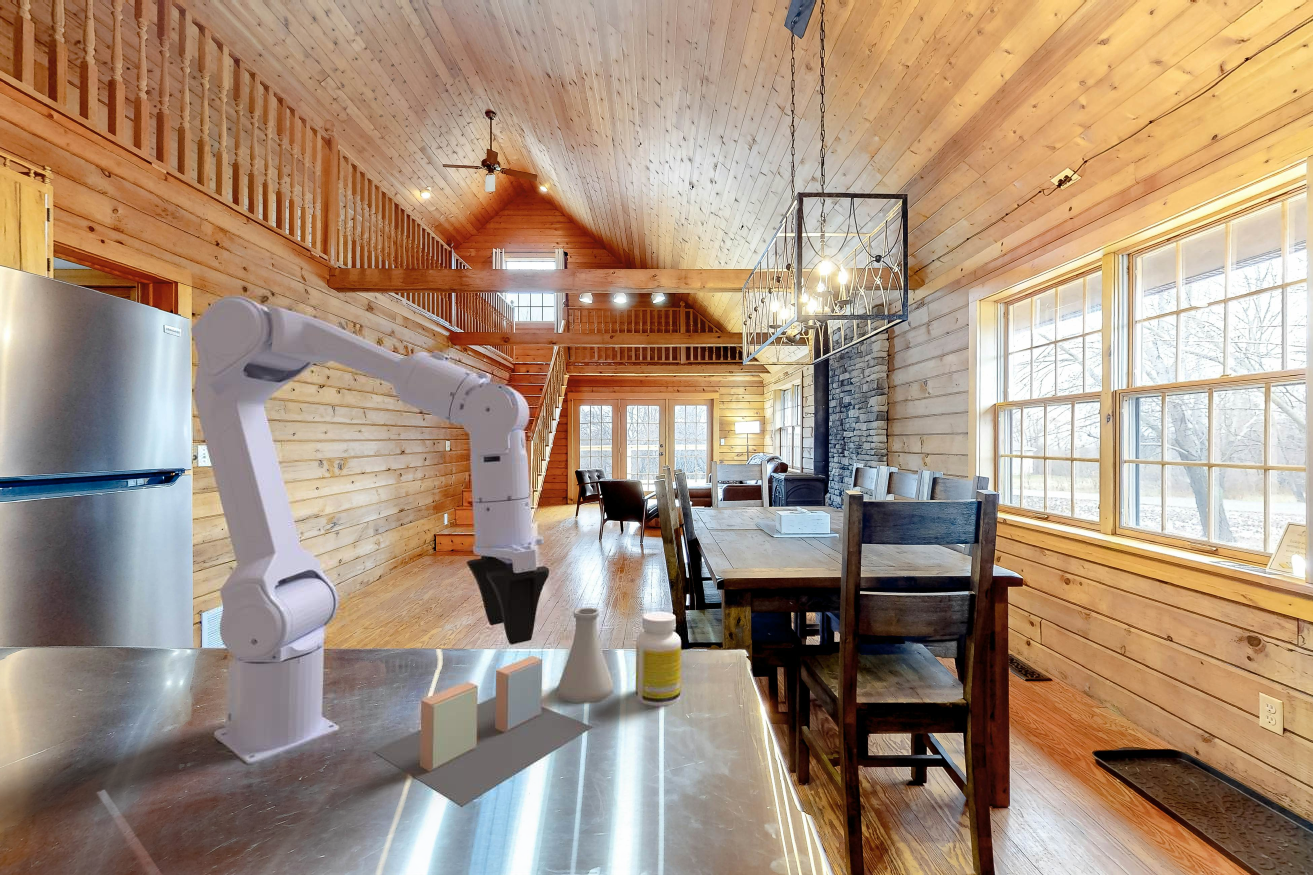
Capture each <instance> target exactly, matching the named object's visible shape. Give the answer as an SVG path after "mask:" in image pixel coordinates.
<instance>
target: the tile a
mask: <svg viewBox="0 0 1313 875" xmlns="http://www.w3.org/2000/svg"><path fill="white" fill-rule="evenodd" d="M478 687H479V685H478V684H474V683H473V682H470V681H465V682H463V683H460V684H457V685H455V686H452V687H450V688H448V689H446V690H442V691H440V692H438V693H435V694H433V695H430V696H427V697H424V698H423V699H420V730H421V735H420V766H421V767H423V768H424V769H426V770H428V771H429V772H431V771H433V770H435V769H436V768H438V767H440V766H442V765H444V764H446V763H448V762H450V761H452V760H454V759H456V758H458V757H460V756H461V755H463V754H465V753H467V752H469V751H471V750H473V749H475V748H477V704H478V700H479V698H478V696H479V695H478V694H479V693H478V690H479V688H478Z"/></svg>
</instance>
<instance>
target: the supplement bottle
mask: <svg viewBox="0 0 1313 875" xmlns="http://www.w3.org/2000/svg"><path fill="white" fill-rule="evenodd" d="M676 622H677V621H676V615H675V614H673V613H671V612H666V611H650V612H646V613H644V614H643V615H642V629H643V631H641V632H640V633H639V634H638V635H637V637H636V643H635V646H636V647H635V698H636V700H637V701H638V702H640V703H642V704H644V705H648V706H655V707H659V706H660V707H662V706H669V705H673V704H675V703H676V702H678V701H679V700H680V698H681V692H682V690H681V688H682V687H681V686H682V683H681V682H682V677H681V676H682V671H681V670H682V640H681V636H679V634H678V633H677V632H675V631H674V630H676V626H677V623H676Z"/></svg>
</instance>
